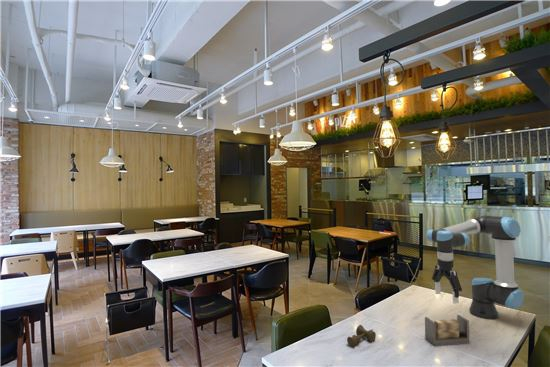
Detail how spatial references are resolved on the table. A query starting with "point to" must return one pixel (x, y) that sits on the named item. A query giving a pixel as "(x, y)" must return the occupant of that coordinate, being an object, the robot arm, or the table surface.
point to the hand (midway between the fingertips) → (446, 298)
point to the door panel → (446, 329)
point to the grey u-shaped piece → (462, 338)
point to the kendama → (361, 336)
